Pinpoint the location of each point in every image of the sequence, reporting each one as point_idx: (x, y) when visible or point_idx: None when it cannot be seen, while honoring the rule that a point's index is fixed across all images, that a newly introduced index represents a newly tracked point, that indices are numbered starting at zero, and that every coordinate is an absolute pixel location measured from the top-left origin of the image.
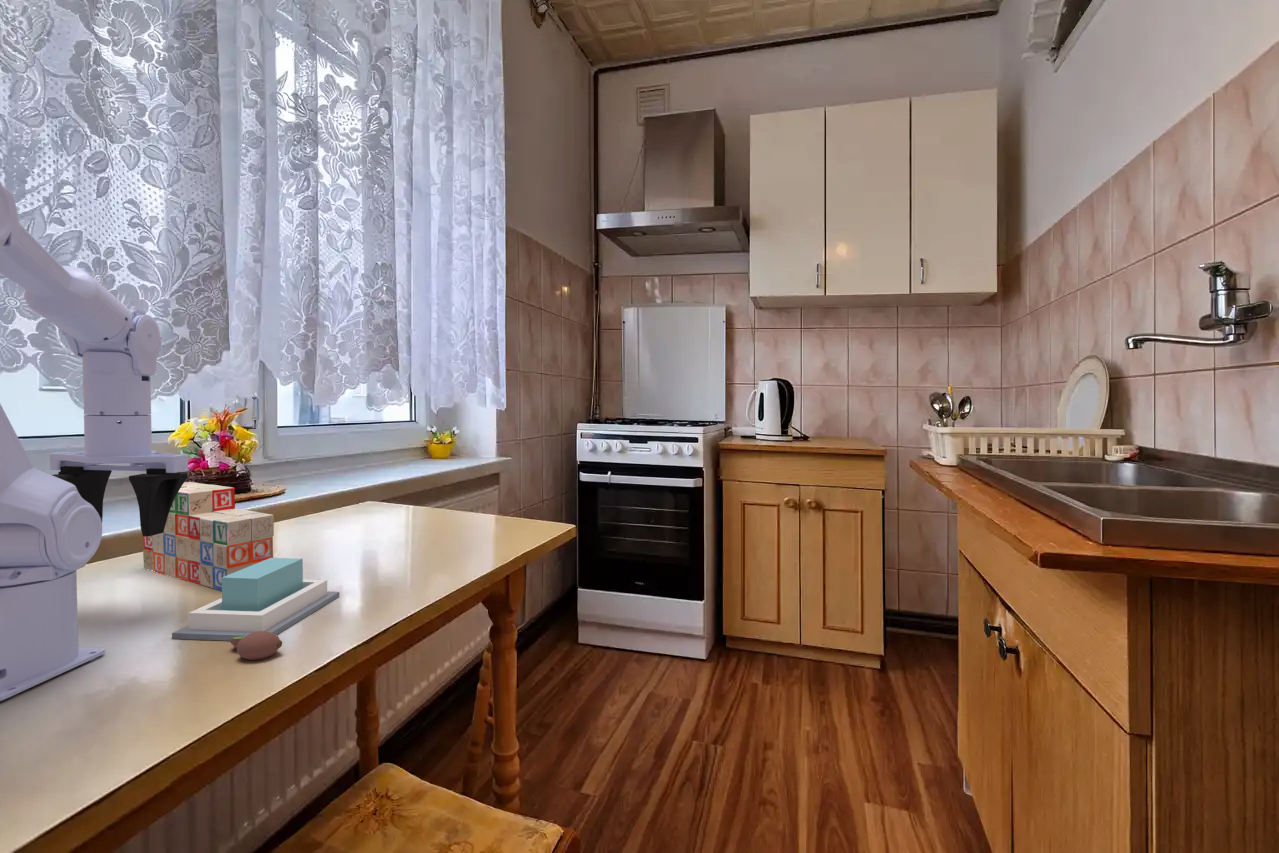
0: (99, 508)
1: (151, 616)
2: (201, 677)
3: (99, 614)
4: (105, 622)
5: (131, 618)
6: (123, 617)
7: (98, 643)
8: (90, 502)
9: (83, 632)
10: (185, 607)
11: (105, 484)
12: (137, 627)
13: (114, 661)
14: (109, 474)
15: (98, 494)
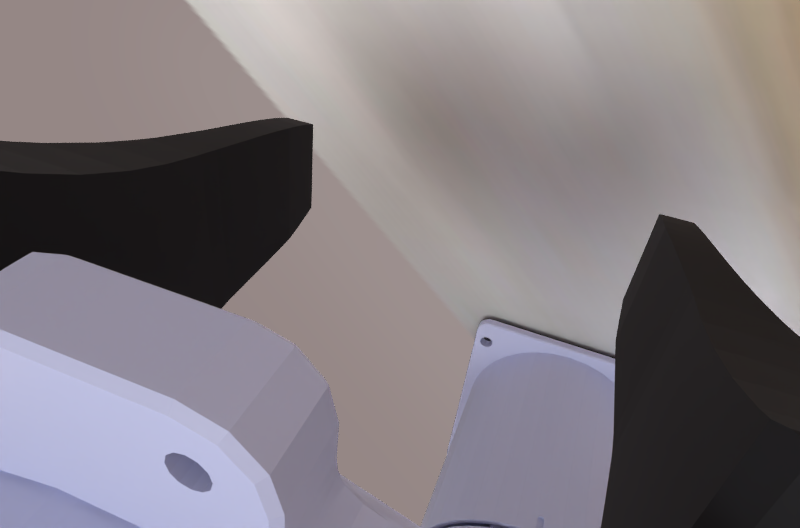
0: (236, 165)
1: (649, 116)
2: None
3: (463, 72)
4: (529, 150)
5: (590, 126)
6: (558, 113)
7: (609, 301)
8: (206, 234)
9: (520, 219)
10: (741, 27)
11: (112, 186)
12: (654, 210)
13: None
14: (26, 183)
15: (171, 207)
